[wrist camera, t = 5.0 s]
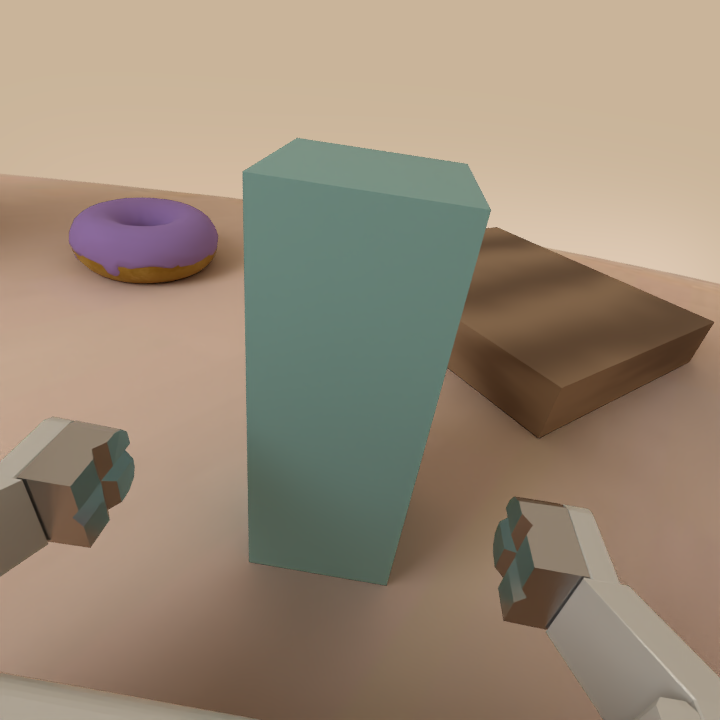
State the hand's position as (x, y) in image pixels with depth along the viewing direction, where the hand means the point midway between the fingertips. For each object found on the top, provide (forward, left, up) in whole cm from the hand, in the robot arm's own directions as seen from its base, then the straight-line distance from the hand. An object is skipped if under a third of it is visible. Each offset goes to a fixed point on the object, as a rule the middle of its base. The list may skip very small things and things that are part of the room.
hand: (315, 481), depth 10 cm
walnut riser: (-11, +22, -6) cm, 25 cm away
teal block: (-3, +3, -6) cm, 8 cm away
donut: (-28, +3, -7) cm, 29 cm away
